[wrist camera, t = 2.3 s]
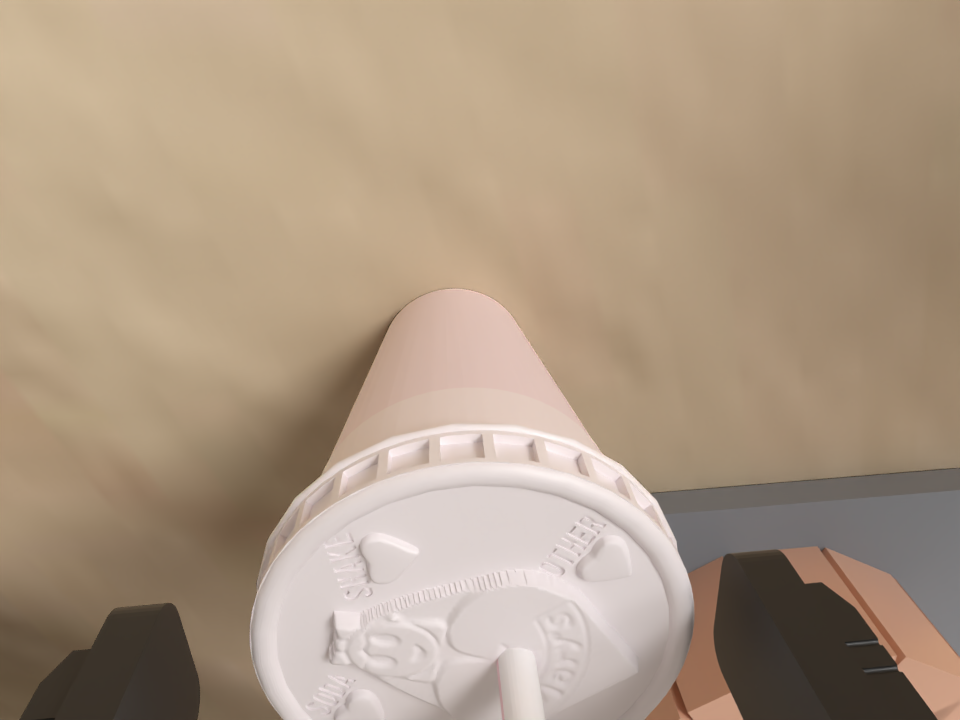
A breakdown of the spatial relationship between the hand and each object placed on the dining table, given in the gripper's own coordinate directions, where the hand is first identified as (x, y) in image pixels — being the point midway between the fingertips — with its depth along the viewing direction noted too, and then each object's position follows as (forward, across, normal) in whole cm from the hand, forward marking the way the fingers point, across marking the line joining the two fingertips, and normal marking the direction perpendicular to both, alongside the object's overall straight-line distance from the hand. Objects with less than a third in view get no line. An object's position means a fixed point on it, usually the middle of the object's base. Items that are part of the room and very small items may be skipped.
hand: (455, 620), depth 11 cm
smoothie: (+9, 0, 0) cm, 9 cm away
